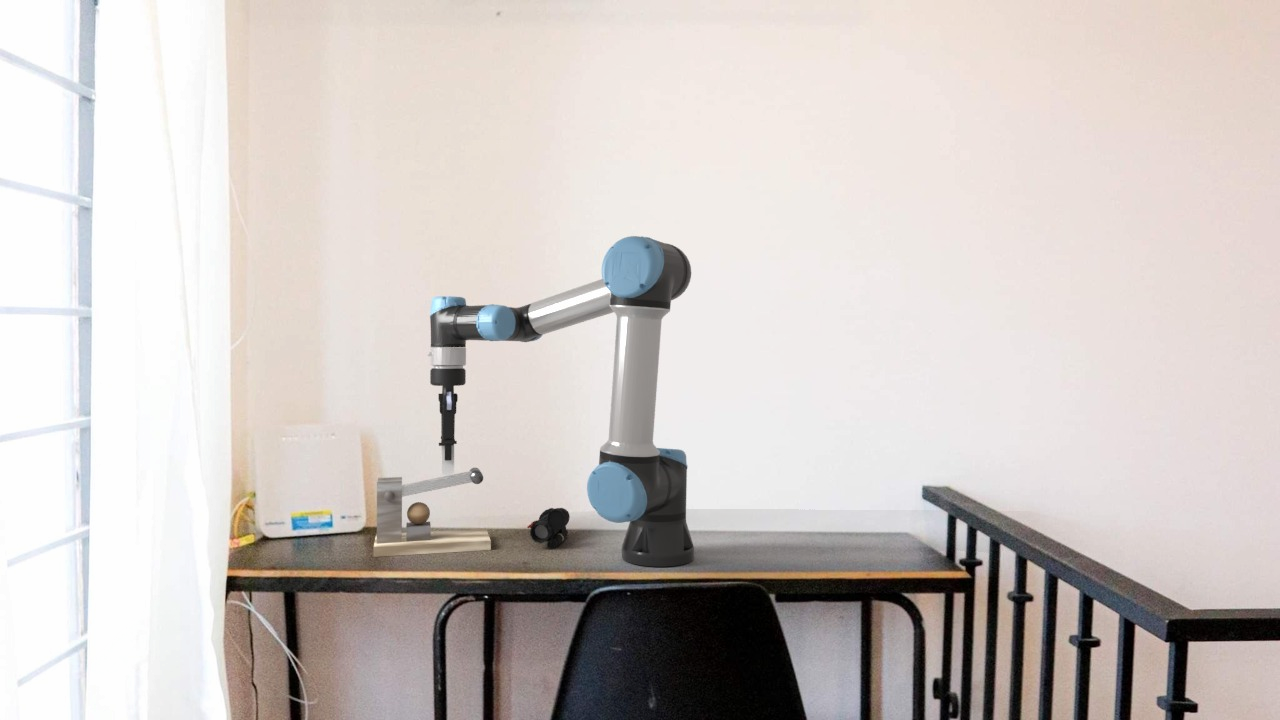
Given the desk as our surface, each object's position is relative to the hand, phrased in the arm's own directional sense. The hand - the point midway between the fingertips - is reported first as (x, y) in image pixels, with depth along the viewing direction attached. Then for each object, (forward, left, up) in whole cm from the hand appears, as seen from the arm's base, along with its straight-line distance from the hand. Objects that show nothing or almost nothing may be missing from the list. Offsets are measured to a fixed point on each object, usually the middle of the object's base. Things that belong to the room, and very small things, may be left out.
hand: (447, 474), depth 176 cm
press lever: (0, +3, -3) cm, 4 cm away
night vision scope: (-2, -23, -16) cm, 28 cm away
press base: (0, +3, -16) cm, 16 cm away
